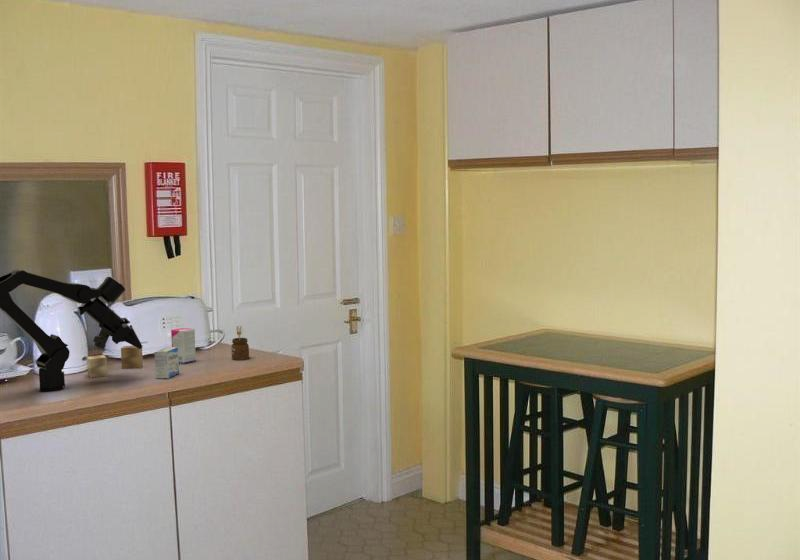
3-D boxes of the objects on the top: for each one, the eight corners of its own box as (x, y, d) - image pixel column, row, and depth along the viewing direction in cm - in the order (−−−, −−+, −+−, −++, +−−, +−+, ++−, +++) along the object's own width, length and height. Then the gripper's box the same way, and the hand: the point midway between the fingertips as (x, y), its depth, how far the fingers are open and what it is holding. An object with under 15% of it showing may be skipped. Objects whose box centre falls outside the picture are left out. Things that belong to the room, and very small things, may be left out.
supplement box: (196, 361, 297) (195, 328, 296) (183, 364, 292) (182, 330, 291) (184, 359, 301) (183, 327, 299) (171, 362, 296) (170, 329, 294)
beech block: (90, 378, 274) (89, 359, 273) (88, 375, 278) (87, 356, 277) (107, 376, 276) (106, 357, 276) (104, 373, 280) (103, 355, 280)
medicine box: (168, 379, 270) (167, 351, 269) (155, 378, 271) (154, 351, 270) (179, 373, 278) (178, 347, 277) (166, 373, 279) (165, 346, 278)
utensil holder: (249, 356, 304) (248, 323, 303) (248, 360, 298) (247, 325, 297) (232, 357, 303) (231, 323, 302) (231, 361, 297) (230, 326, 296)
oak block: (121, 369, 287) (120, 348, 286) (124, 366, 291) (123, 346, 290) (140, 368, 287) (139, 347, 287) (143, 366, 291) (141, 345, 291)
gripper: (84, 329, 274) (122, 361, 279) (83, 338, 257) (123, 372, 261) (110, 303, 276) (147, 336, 281) (110, 311, 258) (149, 345, 263)
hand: (141, 347), depth 271 cm, fingers closed
